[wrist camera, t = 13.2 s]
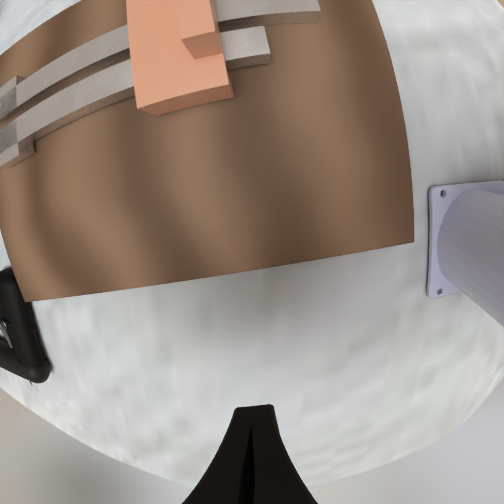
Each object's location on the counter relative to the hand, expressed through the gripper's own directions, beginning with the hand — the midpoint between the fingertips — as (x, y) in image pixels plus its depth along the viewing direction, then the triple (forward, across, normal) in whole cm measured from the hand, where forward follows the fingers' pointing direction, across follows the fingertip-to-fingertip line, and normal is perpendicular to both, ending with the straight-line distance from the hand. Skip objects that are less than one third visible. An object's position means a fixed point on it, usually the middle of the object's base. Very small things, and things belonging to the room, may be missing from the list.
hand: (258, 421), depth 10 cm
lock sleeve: (+8, +1, -16) cm, 17 cm away
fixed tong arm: (+8, +4, -17) cm, 19 cm away
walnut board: (+9, +4, -13) cm, 17 cm away
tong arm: (+8, +6, -14) cm, 17 cm away
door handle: (+10, +29, -3) cm, 31 cm away
